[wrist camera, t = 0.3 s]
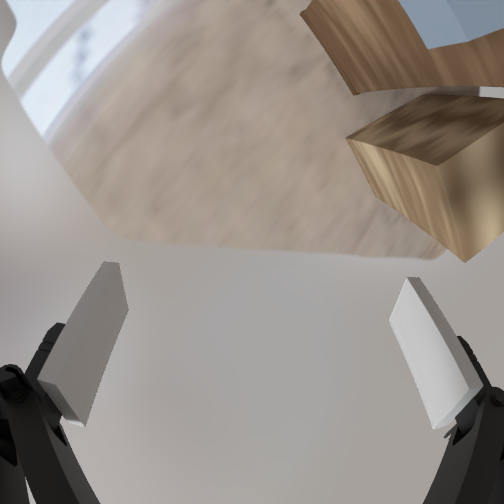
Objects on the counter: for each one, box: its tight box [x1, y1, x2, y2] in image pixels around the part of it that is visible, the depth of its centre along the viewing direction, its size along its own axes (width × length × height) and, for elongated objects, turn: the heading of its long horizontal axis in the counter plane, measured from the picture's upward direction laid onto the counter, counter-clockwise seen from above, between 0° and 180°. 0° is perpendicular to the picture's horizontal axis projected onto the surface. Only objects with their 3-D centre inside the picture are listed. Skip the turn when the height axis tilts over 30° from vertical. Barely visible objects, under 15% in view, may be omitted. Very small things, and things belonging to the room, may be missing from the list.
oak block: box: [346, 95, 504, 262], centre depth 27 cm, size 14×9×20 cm, turn 123°
